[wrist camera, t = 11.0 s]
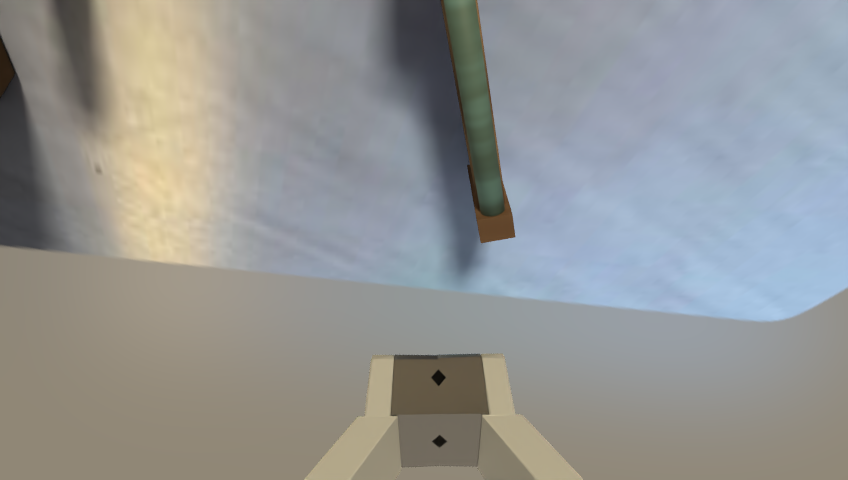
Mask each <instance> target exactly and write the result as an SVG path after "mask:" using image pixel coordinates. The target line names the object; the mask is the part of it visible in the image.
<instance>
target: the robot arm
mask: <svg viewBox="0 0 848 480" xmlns="http://www.w3.org/2000/svg"><path fill="white" fill-rule="evenodd" d="M439 464H440V466H478V470H479V471H480V473H481V474H482V475H483V477H484V478H485V480H583V478H582V477H581V476H580V475H579V474H578V473H577V472H576V471H575V470H574V469H573V468H572V467H571V466H570V465H569V464H568V463H567V461H566V460H565V459H564V458H563V457H562V456H561V455H560V454H559V453H558V452H557V451H556V450H555V449H554V448H553V447H552V446H551V445H550V443H548V441H546V439H545V438H544V437H543V436H542V435H541V434H540V433H539V432H538V431H537V430H536V429H535V428H534V427H533V426H532V424H531V423H530V422H529V421H528V420H527V419H526V418H525V417H524V416H523V415H519V414H515V410H514V404H513V399H512V393H511V388H510V384H509V378H508V372H507V367H506V362H505V357H504V356H503V354H481V355H480V354H447V355H373V356H372V359H371V364H370V372H369V381H368V389H367V398H366V407H365V415H364V416H358V417H357V418H356V419H355V420H354V421H353V423H352V424H351V425H350V426H349V427H348V429H347V430H346V431H345V432H344V433H343V434H342V436H341V437H340V438H339V439H338V440H337V442H336V443H335V444H334V445H333V446H332V447H331V449H330V450H329V451H328V452H327V453H326V455H325V456H324V457H323V458H322V459H321V460H320V461H319V463H318V464H317V465H316V466H315V467H314V469H313V470H312V471H311V472H310V473H309V474H308V476H307V477H306V478H305V479H304V480H396V478H397V476H398V475H399V473H400V472H401V467H423V466H439Z"/></svg>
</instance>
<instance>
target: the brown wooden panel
mask: <svg viewBox="0 0 848 480" xmlns="http://www.w3.org/2000/svg"><path fill="white" fill-rule="evenodd" d="M441 5H442V10H443V16H444V22H445V27H446V33H447V38H448V44H449V50H450V55H451V61H452V66H453V72H454V78H455V83H456V89H457V94H458V100H459V106H460V111H461V117H462V123H463V128H464V134H465V139H466V145H467V151H468V156H469V162H470V165H467V167H468V173H469V179H470V184H471V190H472V196H473V202H474V207H475V213H476V219H477V224H478V230H479V235H480V241H481V243H485V242H491V241H496V240H502V239H508V238H513V237H515V231H514V224H513V216H512V212H511V208H510V205H509V201H508V198H507V195H506V191H505V188H504V185H503V181H502V175H501V168H500V160H499V153H498V146H497V139H496V132H495V125H494V118H493V110H492V103H491V96H490V89H489V82H488V75H487V68H486V60H485V53H484V46H483V39H482V32H481V25H480V18H479V10H478V3H477V0H441Z"/></svg>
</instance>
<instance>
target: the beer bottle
mask: <svg viewBox="0 0 848 480" xmlns="http://www.w3.org/2000/svg"><path fill="white" fill-rule="evenodd" d="M14 74H15V72H14V69H13V67H12V65H11V62H10V60H9V58H8V55H7V53H6V50H5V48H4V46H3V43H2V41H1V39H0V98H1V96H2V94H3V93H4V91H5V89H6V88H7V86H8V84H9V83H10V81H11V79H12V78H13V76H14Z"/></svg>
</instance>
